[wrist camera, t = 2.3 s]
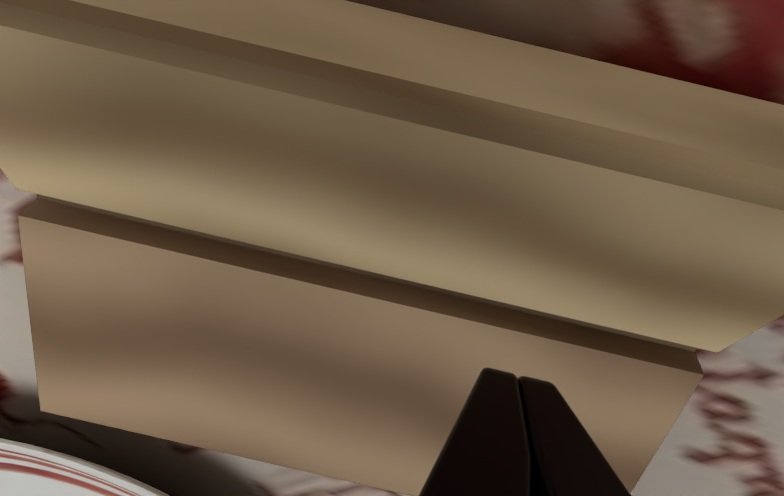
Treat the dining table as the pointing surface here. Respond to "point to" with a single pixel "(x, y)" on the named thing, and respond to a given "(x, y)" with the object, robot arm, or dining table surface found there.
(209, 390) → the floor board
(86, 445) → the dining table surface
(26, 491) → the dinner plate
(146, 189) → the click plank
